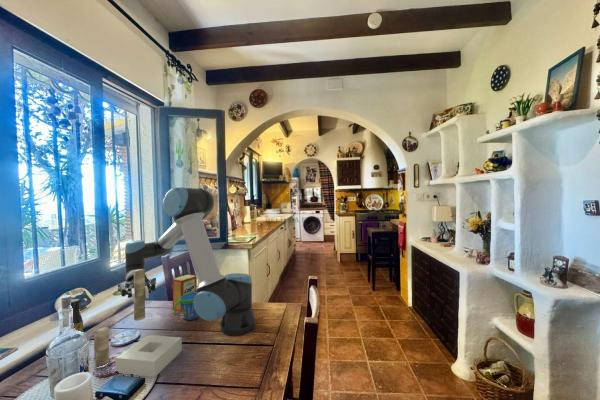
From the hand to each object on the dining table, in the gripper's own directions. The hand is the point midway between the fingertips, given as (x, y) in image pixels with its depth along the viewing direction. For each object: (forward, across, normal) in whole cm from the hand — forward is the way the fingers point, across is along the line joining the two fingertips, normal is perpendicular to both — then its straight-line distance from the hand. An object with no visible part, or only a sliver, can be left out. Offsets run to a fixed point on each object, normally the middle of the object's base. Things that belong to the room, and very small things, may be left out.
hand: (140, 295), depth 89 cm
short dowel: (-9, +12, -22) cm, 26 cm away
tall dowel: (-5, 0, -10) cm, 11 cm away
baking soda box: (-36, -22, -22) cm, 48 cm away
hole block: (+5, -2, -22) cm, 23 cm away
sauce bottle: (-16, +20, -22) cm, 34 cm away
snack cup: (-22, -22, -22) cm, 38 cm away
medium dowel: (-3, +11, -22) cm, 25 cm away
